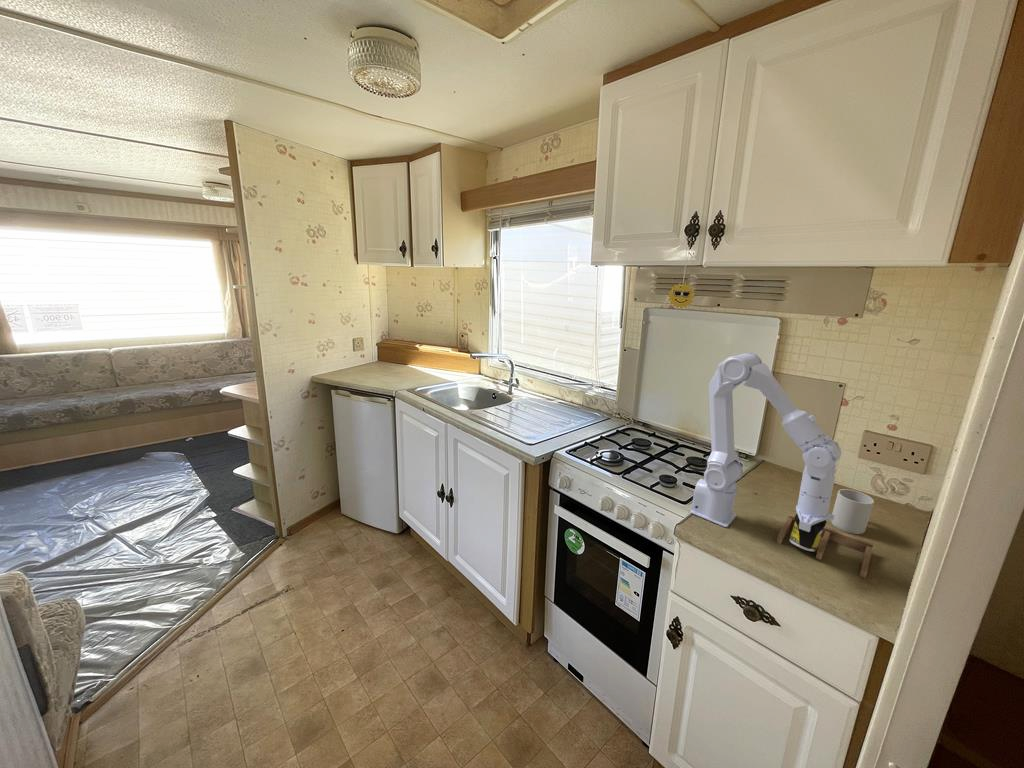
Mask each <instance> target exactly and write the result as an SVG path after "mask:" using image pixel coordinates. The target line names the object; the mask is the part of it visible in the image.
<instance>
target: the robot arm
mask: <svg viewBox="0 0 1024 768" xmlns="http://www.w3.org/2000/svg"><path fill="white" fill-rule="evenodd" d="M743 382H744V383H743ZM742 383H743V386H744V387H749V388H752V389H756V390H758V391H760V392H761V394H762V395H763V396H764V397H765V398H766V400H768V402H769V403H770V404H771V405H772V406H773V408H774V409H775V410H776V411H777V413H779V414H780V416H781V417H782V419H781V420H782V422H781V427H783V428H784V430H785V432H786V433H787V434H788V435H789V436H790V438H791V439H792V440H793V442H794V443H795V444H796V445H797V447H798V448H799V449H800V450H801V451H802V452H803V453H802V454H801V455H802V456H801V457H802V460H803V463H804V469H803V471H802V477H801V481H800V482H801V483H800V488H799V495H798V500H797V504H796V506H795V511H796V514H795V515H794V516H795V522H796V524H797V526H798V530H799V543H800V546H803V547H806V548H808V549H811V548H812V546H813V544H814V541H815V539H816V537H817V535H818V533H819V532H820V531H821V530H822V529H823V528H824V527H826V525H827V520H828V521H830V522H831V521H833V519H834V515H832V513H830V512H829V510H830V505H831V499H832V494H833V489H834V483H835V479H836V478H835V477H836V476H835V474H836V472H837V471H836V467H837V465H836V464H837V462H838V461H839V460H840V459H841V456H842V450H841V448H840V446H839V444H838V442H837V441H835V440H834V439H832V438H831V437H830V436H829V435H828V434H827V435H826V434H825V433H824V432H823V430H822V429H821V428H820V427H819V425H818V424H817V422H816V421H817V417H815V415H814V414H811V415H809V413H808V411H804V410H800V409H798V408H797V407H796V406H795V405H794V403H793V402H792V400H791V398H790V397H789V396H788V395H787V393H786V391H785V390H784V388H782V386H781V384H780V383H779V382H778V381H777V379H776V377H775V376H774V375H773V373H772V371H771V370H770V368H769V366H768V364H766V363H765V362H763V361H762V359H761V357H760V356H759V355H758V354H756V353H753V352H743V353H741V354H738V355H732V356H729V357H726V358H725V359H724V360H722V361H721V362H720V363H718V365H717V369H716V371H715V373H714V375H713V377H712V378H711V380H710V382H709V383H708V396H709V399H708V400H709V420H710V422H709V424H710V442H711V443H710V444H711V452H710V454H709V457H708V458H707V462H706V469H705V471H704V473H703V478H699V480H698V481H697V482H696V485H695V488H694V491H693V497H692V503H691V509H690V511H689V513H691V514H693V515H695V516H697V517H699V518H702V519H704V520H707V521H709V522H712V523H715V525H716V524H717V525H719V526H721V527H724V528H728V527H729V526H730V525H731V523H732V522H733V521H734V520H735V518H736V517H737V513H735V512H733V511H734V505H735V500H736V494H737V490H738V486H737V481H738V480H740V479H741V478H742V476H743V473H744V469H743V466H742V465H741V463H740V459H739V454H738V452H736V450H735V430H734V424H735V423H734V404H733V403H734V401H733V391H734V390H735V389H737V388H738V387H739V386H740V385H741V384H742Z"/></svg>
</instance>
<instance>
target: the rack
mask: <svg viewBox="0 0 1024 768" xmlns="http://www.w3.org/2000/svg"><path fill="white" fill-rule="evenodd" d="M794 524H795V515H794V514H788V517H787V518H786V521H785V522H784V523H783V525H782V527H781V529H780V531H779V532H778V534H777V536H776V537H777V538H776V543H778V544H780V545H782V543H783V541H784V540H785V538H786V535H787V534H788V533H789V531H790V529H791V526H792V527H794ZM820 538H821V541H820V544H819V545H818V546H819V547H817V550H816V556H815V559H817V560H819V561H822V558H823V557H824V556H823V555H824V553H825V551H826V548H827V545H828V542H829V541H832V542H835V543H837V544H840V545H843V546H846V547H848V548H851V549H854V550H857V551H860V552H862V553H864V555H863V560H862V563H861V569H860V572H859V577H862V578H864V579H866V577H867V575H868V570H869V566H870V562H871V561H870V560H871V557H872V550H873V547H874V543H872V542H869V541H866V540H863V539H861V538H858V537H855V536H852V535H850V534H846V533H844V532H841V531H839V530H838V531H837V530H835V529H833V528H830V527H827V526H825V527H824V528H823V530H822V534H821V537H820Z"/></svg>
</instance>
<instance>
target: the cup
mask: <svg viewBox="0 0 1024 768" xmlns="http://www.w3.org/2000/svg"><path fill="white" fill-rule="evenodd" d="M874 503H875V501H874V499H873V497H871V496H870V495H867V494H865V493H862V492H861V491H857V490H854V489H847V488H845V489H844V488H842V489H838V490H837V494H836V498H835V501H834V506H833V510H832V513H831V514H832V515H834V519H833V521H830V522H831V524H832V525H833V526H834V527H835V528H836V529H838V530H841V531H842V532H843V533H844V532H845V533H848V534H853V535H862V534H864V533H865V532H866V530H867V527H868V524H869V520H870V516H871V514H872V510H873V506H874Z"/></svg>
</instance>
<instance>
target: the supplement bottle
mask: <svg viewBox="0 0 1024 768" xmlns="http://www.w3.org/2000/svg"><path fill="white" fill-rule="evenodd" d="M822 530H823V529H822ZM822 530H821V531H820V532H819V533H818V535H817V537H816V539H815V541H814V544H813V546H812V548H811V549H808V548H806V547H803V546H800V543H799V530H798V526H797V524H796V522H795V524H794V526H792V530H791V533H790V537H789V542H790V543H791V544H792V545H793V546H795V547H798V548H800V549H802V550H804V551H808V552H813V553H814V552H817V550H818V546H819V542H820V539H821V538H822V537H821V534H822Z"/></svg>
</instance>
